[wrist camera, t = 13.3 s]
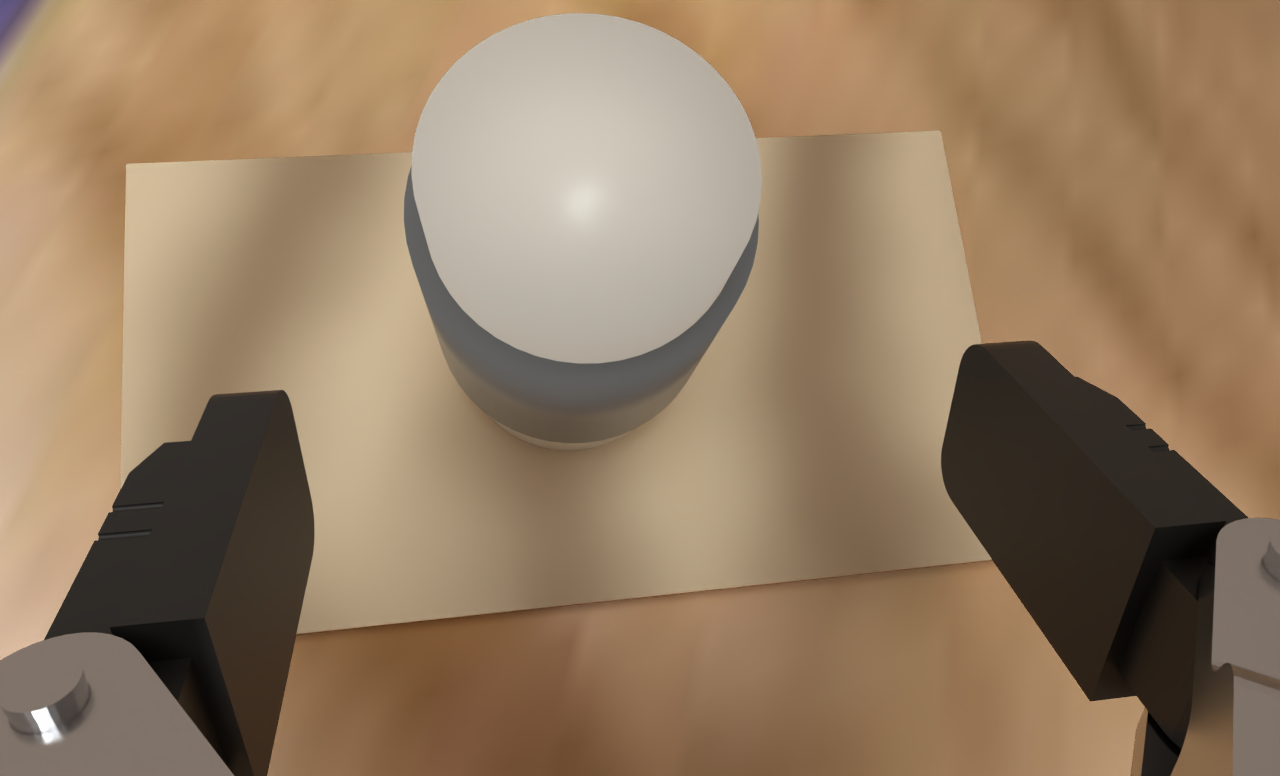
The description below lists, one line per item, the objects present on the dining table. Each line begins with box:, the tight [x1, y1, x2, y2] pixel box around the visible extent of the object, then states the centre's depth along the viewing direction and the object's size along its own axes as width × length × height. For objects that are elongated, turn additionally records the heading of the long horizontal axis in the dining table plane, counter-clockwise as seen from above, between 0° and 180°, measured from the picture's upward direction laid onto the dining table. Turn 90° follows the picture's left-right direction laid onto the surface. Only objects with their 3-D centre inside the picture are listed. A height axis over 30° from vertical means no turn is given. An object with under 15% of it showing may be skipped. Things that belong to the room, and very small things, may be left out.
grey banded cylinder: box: [404, 13, 762, 450], centre depth 18 cm, size 6×6×9 cm
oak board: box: [120, 131, 992, 634], centre depth 23 cm, size 20×11×1 cm, turn 96°
